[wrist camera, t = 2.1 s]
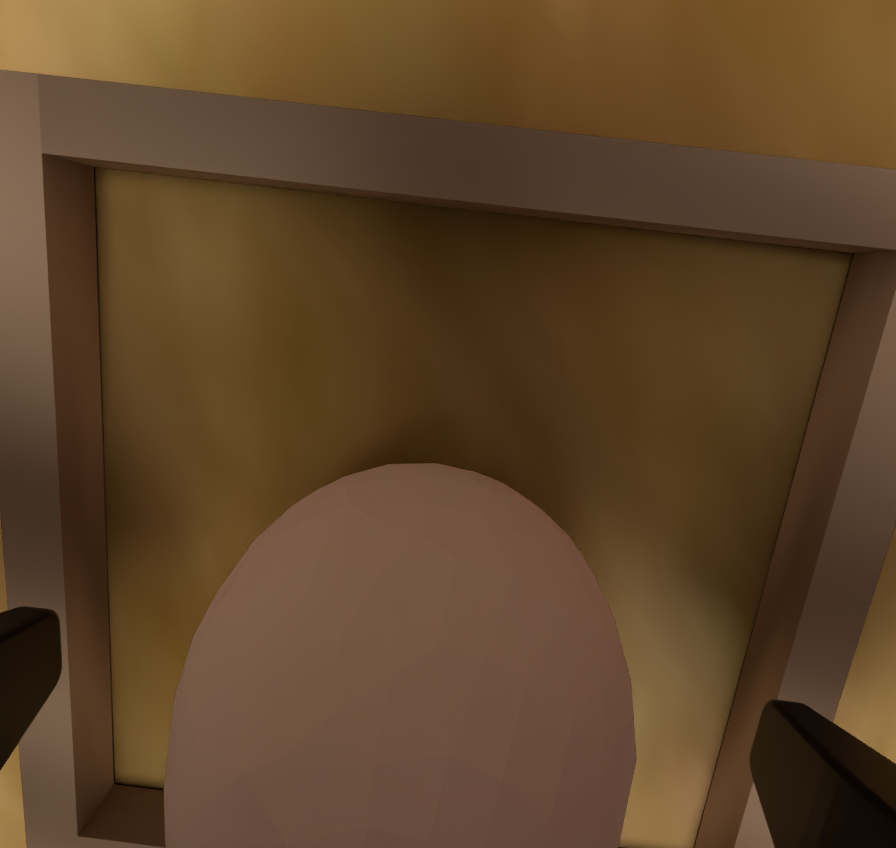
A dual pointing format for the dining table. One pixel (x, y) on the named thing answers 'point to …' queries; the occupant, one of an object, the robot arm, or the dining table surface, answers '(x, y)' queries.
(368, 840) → the egg
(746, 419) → the dining table surface
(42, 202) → the walnut frame
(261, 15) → the dining table surface
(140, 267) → the dining table surface
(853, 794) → the robot arm
